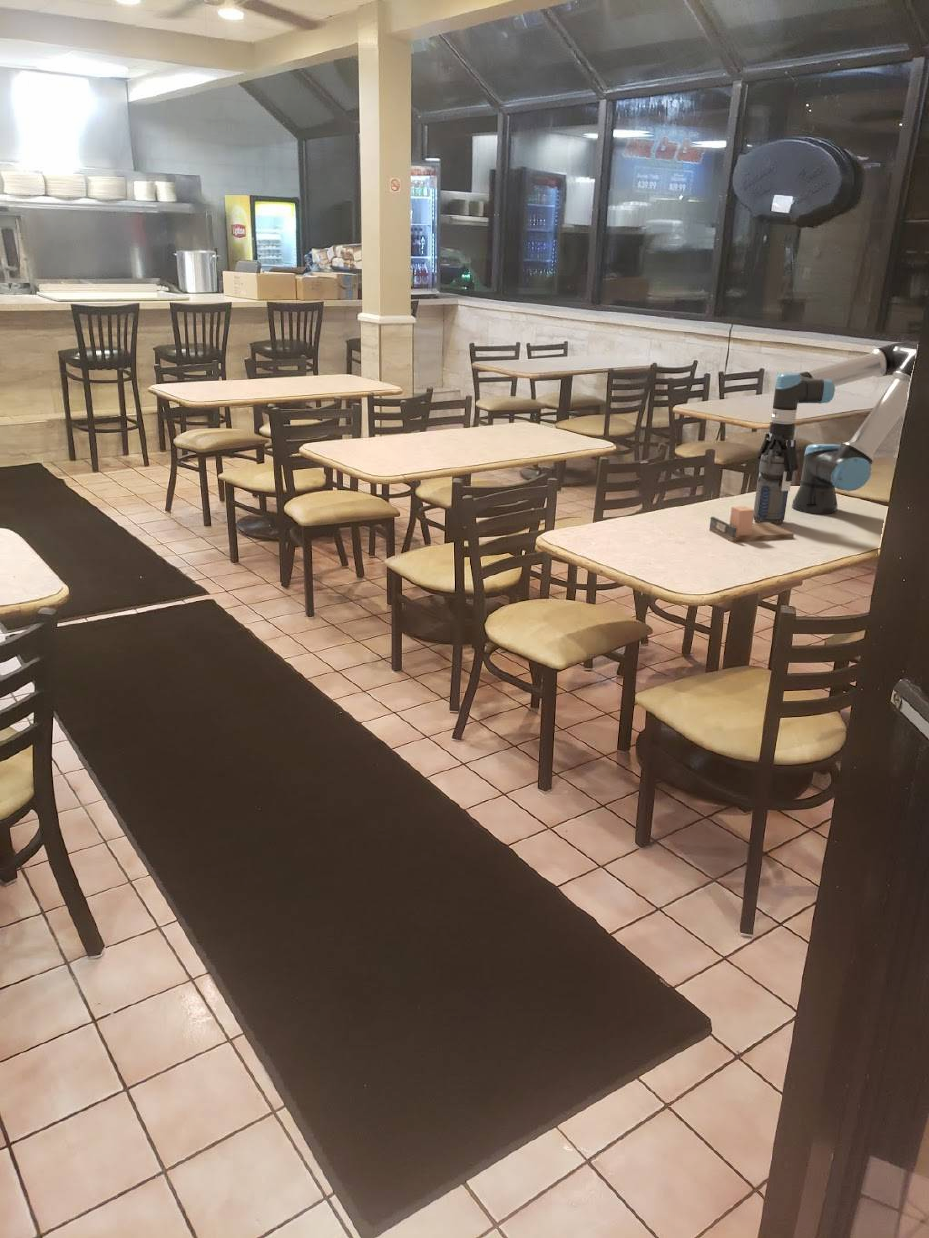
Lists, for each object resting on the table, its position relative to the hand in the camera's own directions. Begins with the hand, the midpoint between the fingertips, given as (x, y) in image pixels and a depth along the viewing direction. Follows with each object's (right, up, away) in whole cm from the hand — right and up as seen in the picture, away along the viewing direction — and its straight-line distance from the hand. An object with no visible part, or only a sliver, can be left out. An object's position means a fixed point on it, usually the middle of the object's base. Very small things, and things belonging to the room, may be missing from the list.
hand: (773, 486), depth 317 cm
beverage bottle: (0, -12, +4) cm, 12 cm away
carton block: (-16, -17, -16) cm, 28 cm away
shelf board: (-11, -17, -11) cm, 23 cm away
